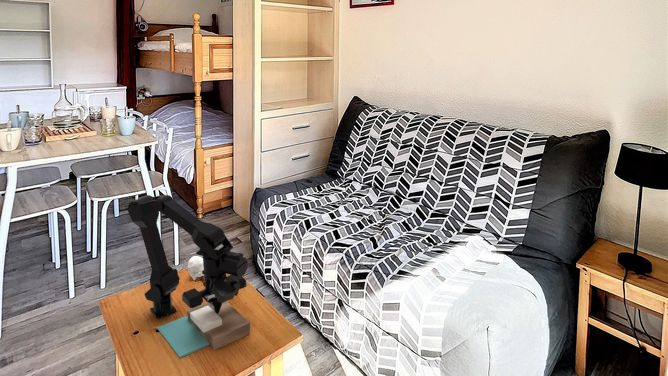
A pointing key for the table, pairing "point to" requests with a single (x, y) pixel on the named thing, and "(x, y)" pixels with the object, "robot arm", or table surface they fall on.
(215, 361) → the table surface
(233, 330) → the brown flat block
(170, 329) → the mat
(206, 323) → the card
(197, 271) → the white rounded lumpy piece
